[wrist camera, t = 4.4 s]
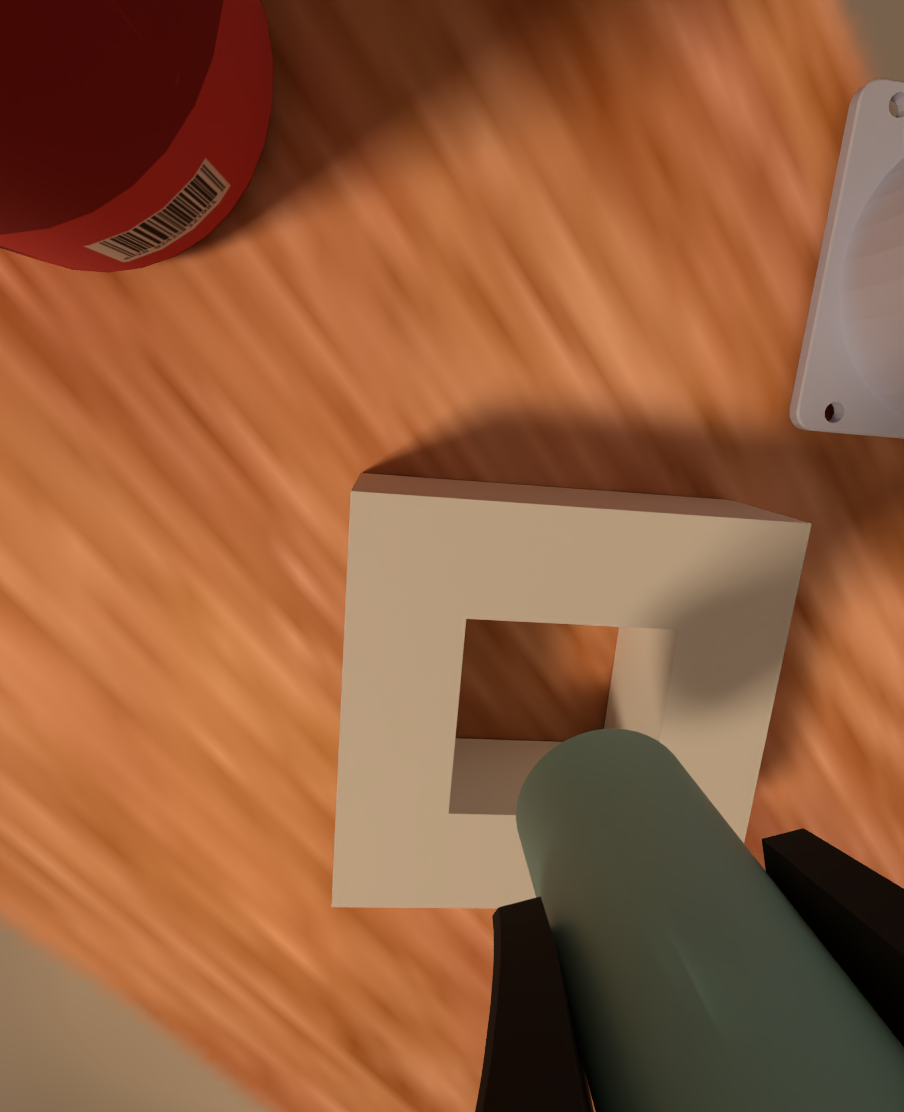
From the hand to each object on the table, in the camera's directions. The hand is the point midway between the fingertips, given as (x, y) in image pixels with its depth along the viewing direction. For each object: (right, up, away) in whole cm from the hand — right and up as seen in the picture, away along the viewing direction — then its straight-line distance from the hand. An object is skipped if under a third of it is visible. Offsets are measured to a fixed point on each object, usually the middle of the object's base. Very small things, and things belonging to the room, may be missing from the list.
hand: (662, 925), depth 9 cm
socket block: (-1, +2, +9) cm, 9 cm away
